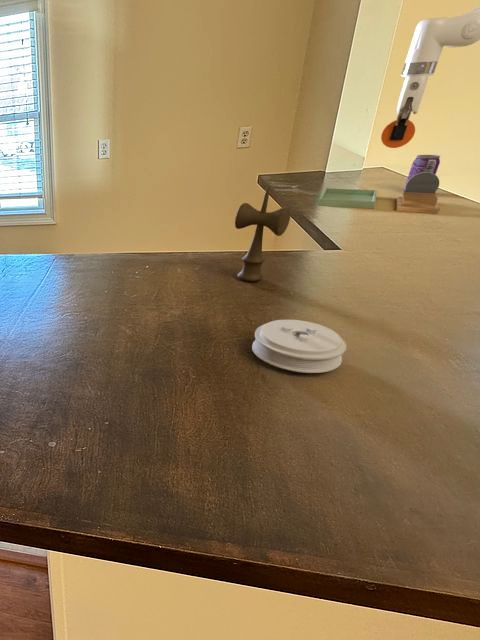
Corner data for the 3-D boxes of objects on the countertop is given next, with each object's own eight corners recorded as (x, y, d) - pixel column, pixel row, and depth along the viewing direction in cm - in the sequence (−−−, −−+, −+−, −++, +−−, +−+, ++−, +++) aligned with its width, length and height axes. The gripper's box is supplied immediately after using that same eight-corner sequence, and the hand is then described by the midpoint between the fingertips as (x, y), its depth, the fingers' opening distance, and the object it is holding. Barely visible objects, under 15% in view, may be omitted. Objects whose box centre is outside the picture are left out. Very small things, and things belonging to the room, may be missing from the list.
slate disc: (402, 198, 155) (410, 171, 151) (434, 198, 151) (443, 171, 147) (402, 198, 154) (410, 172, 151) (434, 199, 150) (443, 172, 146)
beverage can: (431, 192, 165) (445, 155, 159) (423, 196, 162) (437, 158, 156) (407, 190, 170) (420, 154, 164) (398, 193, 167) (411, 156, 161)
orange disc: (377, 146, 151) (386, 118, 146) (408, 148, 147) (419, 119, 142) (377, 147, 150) (386, 119, 146) (408, 148, 146) (419, 119, 142)
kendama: (266, 288, 103) (287, 192, 93) (222, 278, 110) (238, 187, 100) (277, 280, 107) (299, 186, 97) (234, 271, 113) (250, 183, 103)
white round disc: (245, 337, 85) (251, 311, 82) (327, 342, 81) (335, 316, 79) (257, 374, 75) (263, 346, 72) (351, 382, 71) (361, 352, 68)
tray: (323, 194, 174) (325, 188, 173) (374, 196, 166) (376, 190, 165) (317, 205, 160) (319, 198, 159) (373, 208, 152) (375, 201, 151)
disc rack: (396, 200, 159) (400, 188, 157) (434, 202, 154) (439, 190, 152) (396, 211, 148) (400, 198, 146) (438, 213, 143) (442, 200, 141)
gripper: (437, 69, 130) (412, 142, 140) (433, 68, 141) (410, 136, 150) (402, 71, 134) (380, 142, 143) (401, 70, 145) (380, 136, 154)
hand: (395, 139), depth 147 cm, fingers closed on orange disc, 1 cm apart
